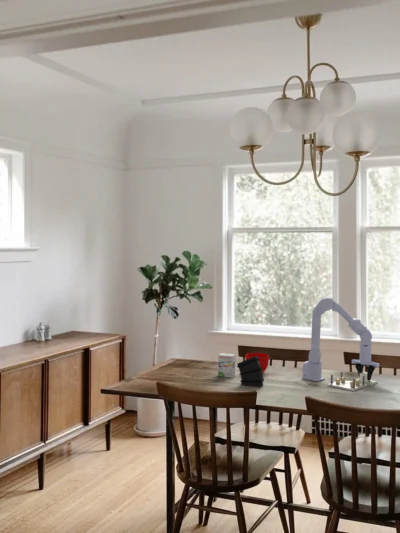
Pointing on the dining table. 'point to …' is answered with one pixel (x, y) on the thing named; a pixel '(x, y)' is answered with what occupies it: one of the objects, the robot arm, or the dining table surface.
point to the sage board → (368, 382)
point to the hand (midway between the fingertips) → (365, 379)
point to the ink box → (226, 365)
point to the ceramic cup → (260, 359)
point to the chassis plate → (347, 383)
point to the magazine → (251, 372)
